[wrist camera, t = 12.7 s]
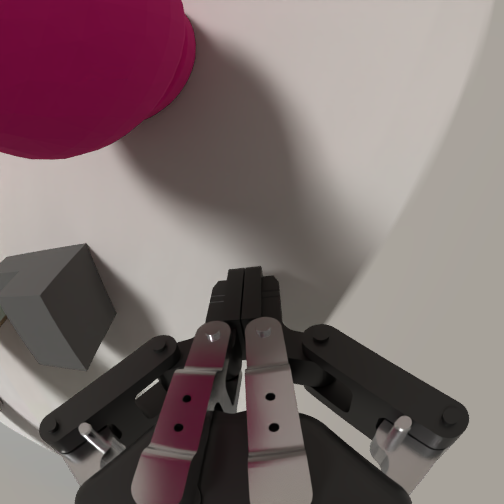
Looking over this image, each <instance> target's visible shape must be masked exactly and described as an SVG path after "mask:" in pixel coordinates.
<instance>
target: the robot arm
mask: <svg viewBox="0 0 504 504" xmlns="http://www.w3.org/2000/svg"><path fill="white" fill-rule="evenodd" d="M242 360H246V361H247V369H245V388H246V409H247V411H243V412H239V413H237V404H238V398H239V392H240V386H241V379H242V371H241V367H242ZM157 378H158V380H159V382H158V383H156V384H155V385H154V386H153V387H151V388H150V389H149V390H148V391H146V392H145V393H144V394H142V395H141V396H140V397H139V398H137V399H136V400H135V397H136V395H137V394H138V393H139V392H141V391H142V390H143V389H144V388H146V387H147V386H148V385H150V384H151V383H152V382H153V381H155V380H156V379H157ZM293 383H294V384H300V385H304V387H305V389H306V390H307V391H308V392H310V393H311V394H312V395H313V396H314V397H316V398H317V399H318V400H319V401H321V402H322V403H323V404H325V405H326V406H327V407H328V408H330V409H331V410H332V411H334V412H335V413H336V414H337V415H339V416H340V417H341V418H343V419H344V420H345V421H347V422H348V423H349V424H351V425H352V426H353V427H355V428H356V429H357V430H359V431H360V432H362V433H363V434H364V435H366V436H367V437H368V438H370V439H371V440H372V442H371V445H370V452H371V455H372V457H373V458H374V459H375V460H376V461H377V462H378V464H379V465H380V467H381V470H379V469H378V468H377V467H375V466H374V465H373V464H372V463H370V462H369V461H368V460H367V459H365V458H364V457H363V456H362V455H360V454H359V453H358V452H357V451H355V450H354V449H353V448H352V447H351V446H349V445H348V444H347V443H346V442H344V441H343V440H342V439H341V438H340V437H338V436H337V435H336V434H335V433H334V432H333V431H331V430H330V429H329V428H328V427H327V426H326V425H324V424H323V423H322V422H320V421H319V420H317V419H315V418H313V417H311V416H308V415H305V414H302V413H298V408H297V402H296V396H295V391H294V385H293ZM2 407H3V404H2V402H1V401H0V411H1V409H2ZM468 423H469V415H468V412H467V410H466V408H465V407H464V406H463V405H462V404H461V403H459V402H457V401H456V400H454V399H452V398H451V397H449V396H447V395H446V394H444V393H442V392H440V391H439V390H437V389H435V388H434V387H432V386H430V385H429V384H427V383H425V382H423V381H421V380H420V379H418V378H417V377H415V376H413V375H412V374H410V373H408V372H407V371H405V370H403V369H402V368H400V367H398V366H396V365H395V364H393V363H391V362H390V361H388V360H386V359H385V358H383V357H381V356H380V355H378V354H377V353H375V352H373V351H371V350H370V349H368V348H366V347H365V346H363V345H361V344H360V343H358V342H357V341H355V340H353V339H352V338H350V337H349V336H347V335H345V334H344V333H342V332H340V331H339V330H337V329H335V328H334V327H332V326H329V325H324V324H319V325H314V326H311V327H309V328H308V329H307V330H305V332H297V331H293V330H290V329H288V328H287V327H286V326H285V325H284V324H283V322H282V311H281V300H280V291H279V282H278V281H277V279H276V278H275V277H274V276H265V277H263V274H262V267H261V266H257V267H247V268H238V269H229V271H228V276H227V280H225V281H218V282H217V284H216V285H215V286H214V287H213V290H212V294H211V299H210V303H209V308H208V313H207V317H206V322H205V324H203V325H202V326H200V327H199V328H198V330H197V332H196V334H195V337H193V338H191V339H188V340H185V341H181V342H178V343H176V340H175V339H174V338H173V337H171V336H167V335H161V336H157V337H154V338H152V339H151V340H149V341H148V342H147V343H145V344H144V345H143V346H141V347H140V348H139V349H137V350H136V351H135V352H133V353H132V354H131V355H129V356H128V357H126V358H125V359H124V360H122V361H121V362H120V363H118V364H117V365H116V366H114V367H113V368H112V369H110V370H109V371H107V372H106V373H105V374H103V375H102V376H101V377H99V378H98V379H96V380H95V381H94V382H92V383H91V384H90V385H88V386H87V387H86V388H84V389H83V390H81V391H80V392H79V393H77V394H76V395H75V396H73V397H72V398H70V399H69V400H68V401H66V402H65V403H64V404H62V405H61V406H59V407H58V408H57V409H55V410H54V411H52V412H51V413H50V414H48V415H47V416H46V417H45V418H44V419H43V420H42V422H41V424H40V428H39V433H40V436H41V438H42V439H43V440H44V441H45V442H46V443H48V444H49V445H50V446H51V447H53V448H54V450H55V451H56V452H58V453H59V454H60V455H61V456H62V457H63V459H64V461H65V462H66V464H67V466H68V467H69V469H70V470H71V472H72V474H73V476H74V477H75V479H76V480H77V482H78V484H79V485H80V488H79V490H78V492H77V494H76V498H75V504H412V501H411V499H410V497H409V495H410V494H411V492H412V491H413V490H414V489H415V488H416V486H417V485H418V484H419V483H420V482H421V480H422V479H423V478H424V476H425V475H426V474H427V473H428V471H429V470H430V468H431V467H432V466H433V464H434V463H435V462H436V461H437V460H438V459H439V458H440V457H441V456H442V455H443V454H444V453H445V452H446V451H447V450H448V448H449V447H450V446H451V445H452V444H453V443H454V442H455V441H456V440H457V439H458V438H459V437H460V435H461V434H462V433H463V432H464V431H465V430H466V428H467V426H468Z"/></svg>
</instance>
